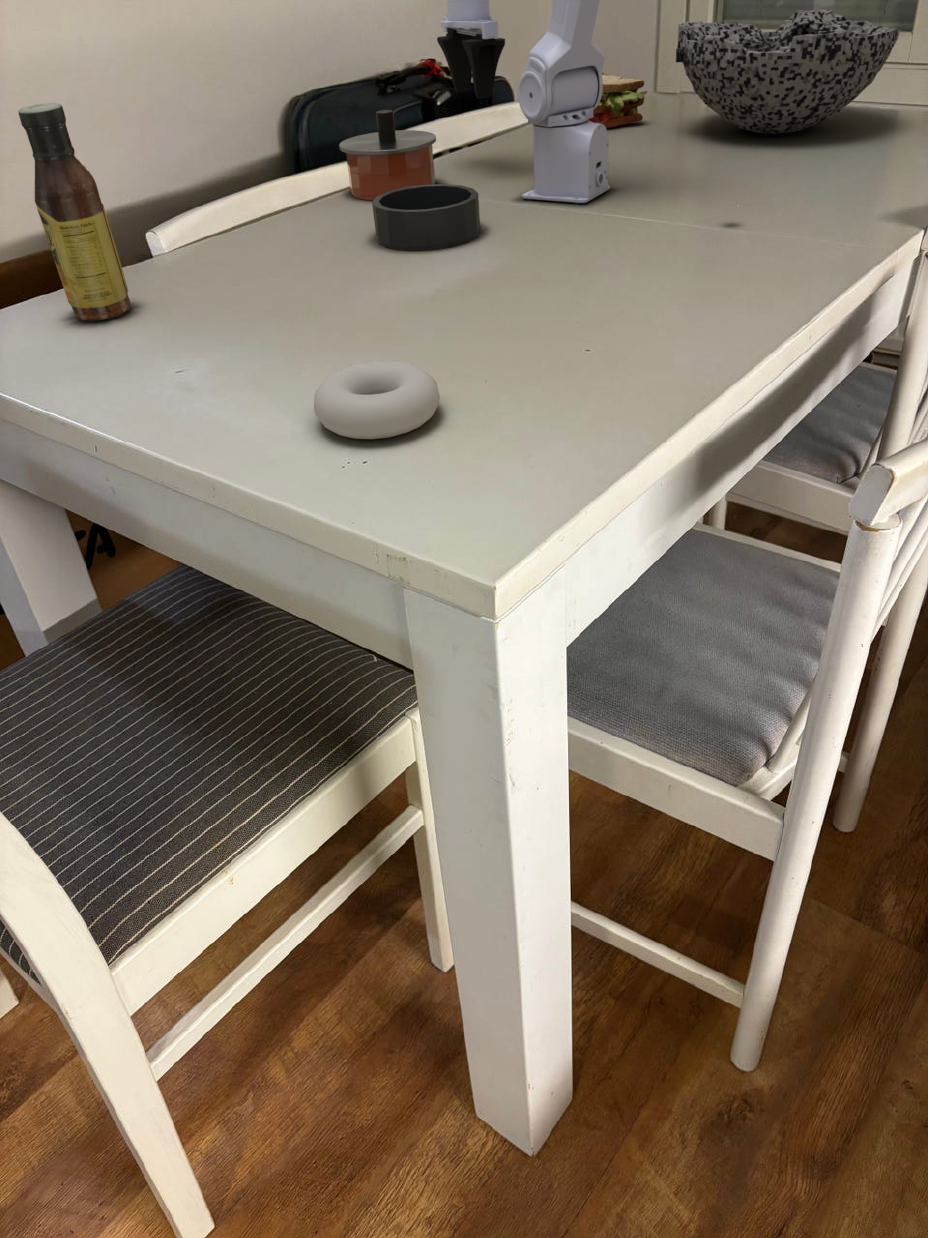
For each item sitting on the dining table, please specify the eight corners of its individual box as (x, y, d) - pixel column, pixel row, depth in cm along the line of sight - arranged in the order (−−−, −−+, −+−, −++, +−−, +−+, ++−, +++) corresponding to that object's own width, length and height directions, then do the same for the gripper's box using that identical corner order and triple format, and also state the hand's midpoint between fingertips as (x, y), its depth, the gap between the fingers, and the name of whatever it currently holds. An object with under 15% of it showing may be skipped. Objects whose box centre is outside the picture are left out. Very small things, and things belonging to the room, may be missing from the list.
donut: (351, 389, 81) (294, 439, 74) (345, 350, 79) (286, 397, 72) (459, 400, 78) (411, 453, 71) (457, 359, 76) (406, 409, 69)
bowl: (779, 162, 134) (794, 38, 125) (634, 134, 156) (637, 27, 147) (925, 125, 146) (949, 10, 137) (771, 104, 168) (783, 3, 159)
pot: (450, 182, 138) (447, 136, 135) (403, 203, 130) (398, 155, 127) (383, 177, 144) (378, 133, 140) (334, 197, 136) (328, 151, 132)
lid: (454, 140, 135) (452, 103, 132) (400, 162, 126) (396, 122, 123) (377, 136, 141) (373, 100, 138) (320, 157, 132) (315, 119, 129)
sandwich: (531, 127, 165) (530, 74, 160) (579, 114, 171) (579, 63, 167) (604, 136, 155) (605, 80, 150) (651, 122, 161) (654, 68, 157)
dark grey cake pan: (498, 225, 118) (496, 187, 116) (443, 254, 110) (440, 214, 107) (414, 217, 124) (411, 181, 121) (357, 244, 116) (351, 206, 113)
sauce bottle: (85, 304, 104) (22, 101, 92) (141, 301, 104) (85, 96, 92) (63, 326, 99) (-6, 113, 87) (122, 323, 99) (60, 109, 87)
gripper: (419, -20, 131) (428, 91, 140) (460, -16, 121) (467, 104, 129) (466, -25, 133) (472, 85, 142) (510, -22, 123) (514, 97, 131)
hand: (473, 94), depth 135 cm, fingers open, 7 cm apart
